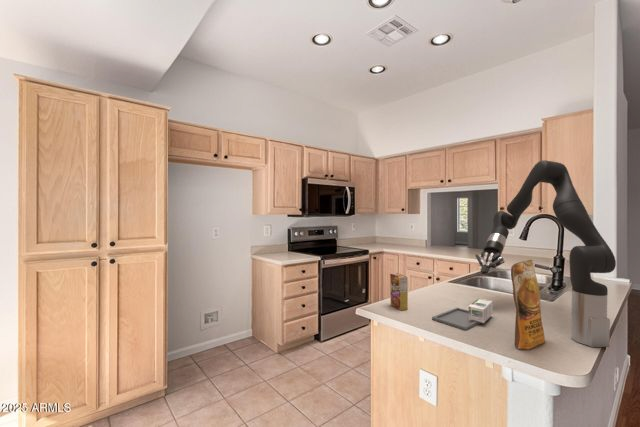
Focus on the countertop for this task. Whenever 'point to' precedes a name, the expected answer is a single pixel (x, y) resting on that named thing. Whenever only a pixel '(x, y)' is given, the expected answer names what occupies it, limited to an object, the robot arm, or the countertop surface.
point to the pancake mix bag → (527, 306)
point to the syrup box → (480, 310)
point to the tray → (456, 319)
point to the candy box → (399, 291)
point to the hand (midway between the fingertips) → (483, 273)
